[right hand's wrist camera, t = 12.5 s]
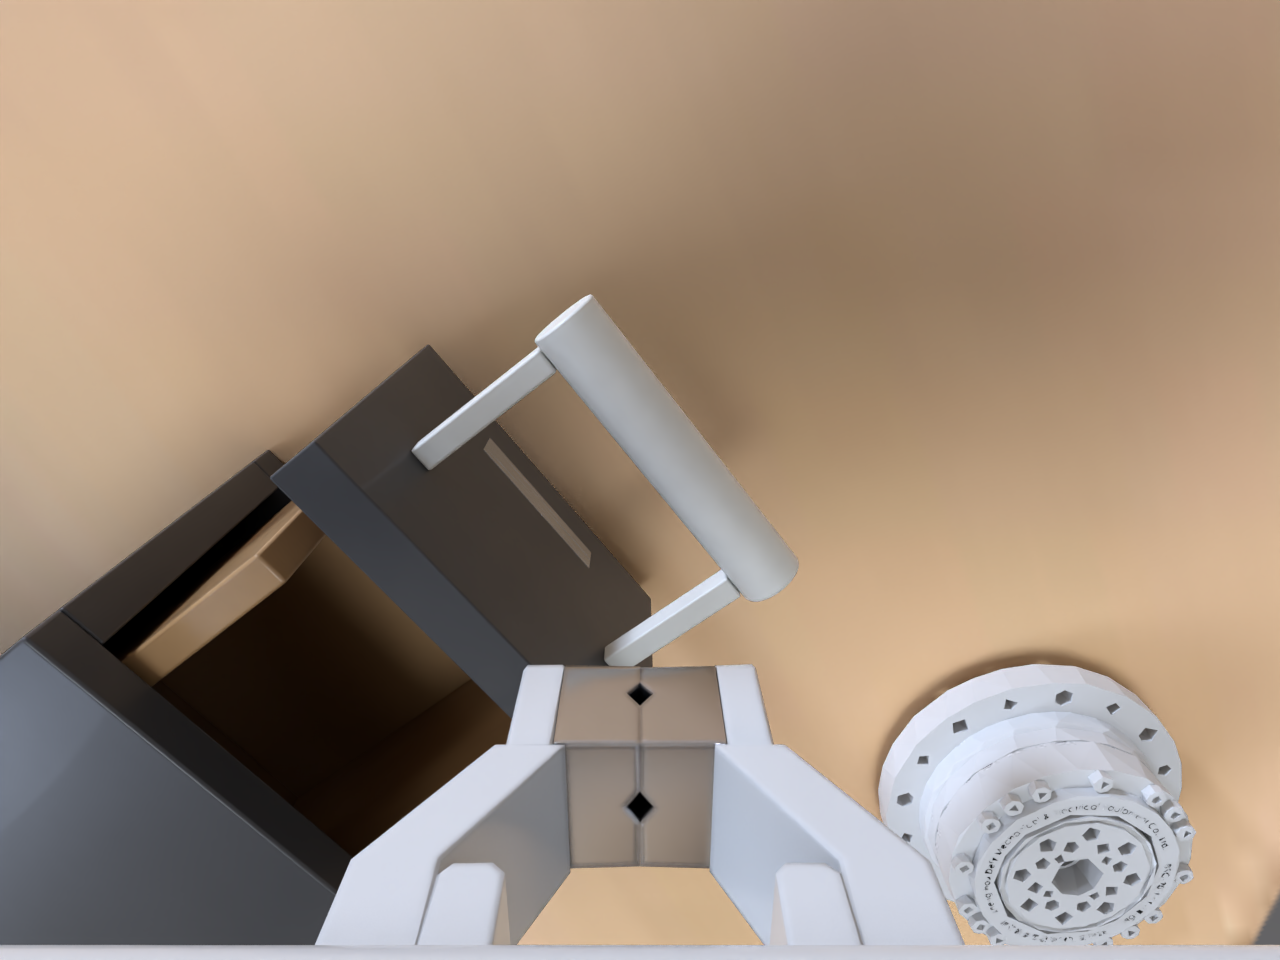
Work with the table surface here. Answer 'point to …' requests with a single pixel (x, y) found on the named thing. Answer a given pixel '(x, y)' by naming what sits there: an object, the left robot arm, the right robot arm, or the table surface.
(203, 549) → the cabinet
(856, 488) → the table surface
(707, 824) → the right robot arm
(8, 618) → the table surface
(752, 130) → the table surface
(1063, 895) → the mechanical component
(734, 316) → the table surface
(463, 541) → the drawer
